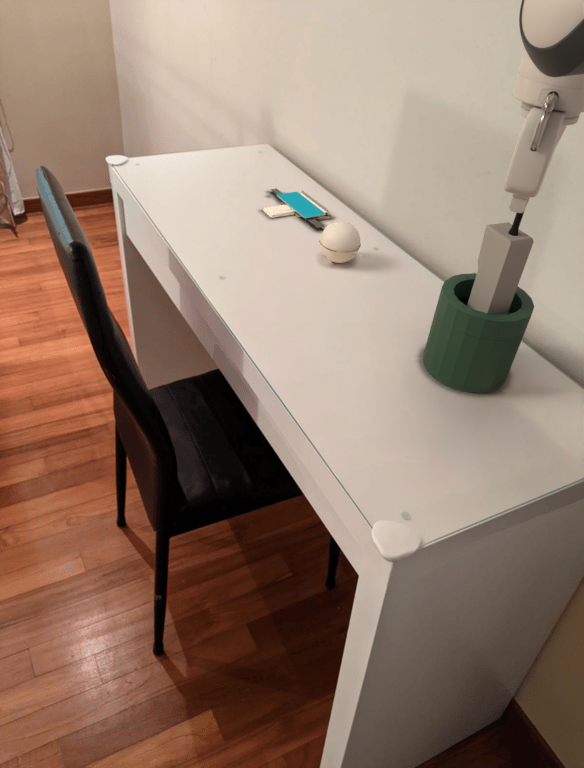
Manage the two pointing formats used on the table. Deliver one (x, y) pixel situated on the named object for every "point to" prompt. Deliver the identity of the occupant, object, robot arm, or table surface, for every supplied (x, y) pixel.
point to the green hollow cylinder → (473, 338)
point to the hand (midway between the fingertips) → (518, 207)
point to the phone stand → (298, 208)
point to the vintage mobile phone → (500, 267)
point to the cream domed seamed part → (340, 242)
